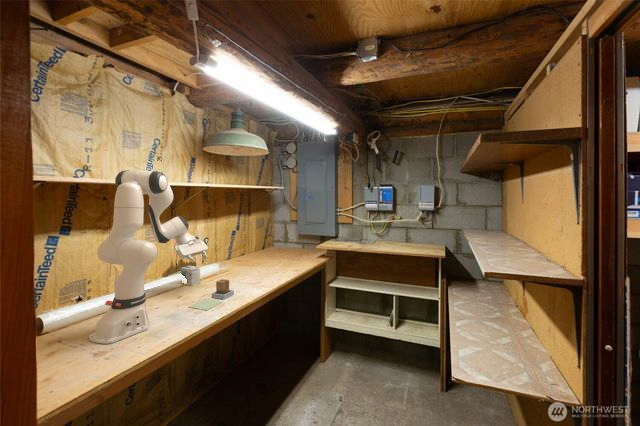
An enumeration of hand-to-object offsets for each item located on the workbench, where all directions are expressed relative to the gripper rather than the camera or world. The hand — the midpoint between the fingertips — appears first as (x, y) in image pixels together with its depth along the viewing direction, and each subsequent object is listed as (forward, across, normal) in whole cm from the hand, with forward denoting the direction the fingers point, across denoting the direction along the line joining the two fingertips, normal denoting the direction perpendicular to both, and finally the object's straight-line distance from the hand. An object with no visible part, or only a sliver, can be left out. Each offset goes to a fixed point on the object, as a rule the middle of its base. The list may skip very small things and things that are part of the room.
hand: (200, 259), depth 177 cm
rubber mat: (+25, -14, +3) cm, 29 cm away
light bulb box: (+1, +12, +28) cm, 30 cm away
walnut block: (+25, 0, +3) cm, 25 cm away
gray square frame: (+25, 0, +3) cm, 25 cm away
